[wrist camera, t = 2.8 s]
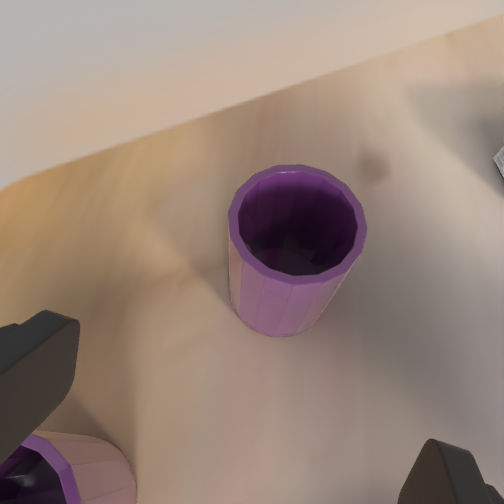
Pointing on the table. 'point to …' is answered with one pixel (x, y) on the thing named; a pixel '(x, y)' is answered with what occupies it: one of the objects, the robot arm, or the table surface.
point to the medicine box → (500, 160)
